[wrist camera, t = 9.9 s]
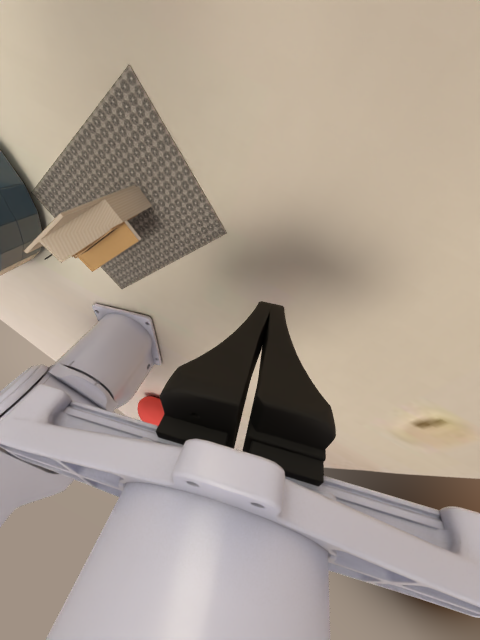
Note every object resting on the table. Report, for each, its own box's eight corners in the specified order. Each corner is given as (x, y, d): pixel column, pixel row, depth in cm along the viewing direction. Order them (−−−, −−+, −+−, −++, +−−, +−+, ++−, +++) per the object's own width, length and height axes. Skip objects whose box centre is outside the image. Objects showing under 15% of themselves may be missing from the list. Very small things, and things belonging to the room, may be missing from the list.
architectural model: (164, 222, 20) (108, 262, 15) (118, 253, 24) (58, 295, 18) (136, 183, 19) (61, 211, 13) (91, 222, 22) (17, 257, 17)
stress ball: (168, 384, 42) (134, 407, 38) (194, 425, 42) (164, 452, 39) (161, 383, 46) (130, 405, 42) (185, 421, 47) (157, 445, 43)
